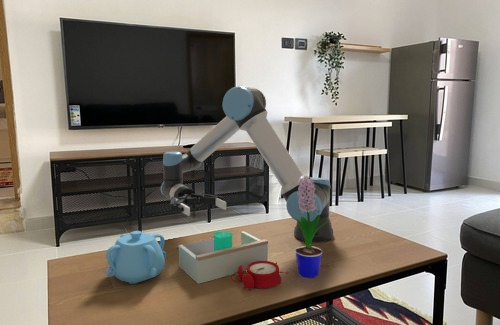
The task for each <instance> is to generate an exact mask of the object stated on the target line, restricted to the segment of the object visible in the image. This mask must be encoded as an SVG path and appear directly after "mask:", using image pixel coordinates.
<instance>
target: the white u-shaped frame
mask: <svg viewBox="0 0 500 325" xmlns="http://www.w3.org/2000/svg"><path fill="white" fill-rule="evenodd" d="M240 233H241V234H240V235H241V236H240V242H241V244H239V245H236V246H232V247H230V248H226V249H222V250H218V251H213V252H209V253H205V254H201V255H197V256H196V255H195V254H193V253H192V252H191V251H190V250H188V249H187V248H186V247H184V246H183V245H184V244H179V245H178V246H179V250H178V266H179V268H180V269H181V270H183V272H185V274H187V275H188V277H190V278H192V280H193V281H194V282H196V283H197V285H199V284H202V283H206V282H210V281H213V280H216V279H221V278H224V277H228V276H231V275H233V274H235V273H236V272H238V268H239V266H240V265H243V272H245V271H246V272H247V266H248V265H249V264H250V263H252V262H256V261H268V252H269V250H268V247H269V246H268V244H269V240H267V239H265V238H263V239H260V238H258V237H256V236H254V235H252V234H250V233H248V232H247V231H241V232H240ZM235 275H236V274H235Z"/></svg>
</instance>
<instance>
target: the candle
mask: <svg viewBox="0 0 500 325" xmlns="http://www.w3.org/2000/svg"><path fill="white" fill-rule="evenodd" d="M213 240H214V251H218V250H222V249H226V248H230V247H233V232H230V231H224V230H222V231H221V230H220V231H219V230H217V231H215V232H214V233H213Z"/></svg>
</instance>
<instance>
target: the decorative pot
mask: <svg viewBox="0 0 500 325" xmlns="http://www.w3.org/2000/svg"><path fill="white" fill-rule="evenodd" d="M129 233H130V234H128V233H123V234H121V235H120V236H119V237H118V238H117V239H116V241H115V243H114V245H111V246H110V247H109V248H108V249H107V250H106V252H105V259H106V261H107V263H108V265H109V267H107V268H106V270H105V274H106V276H107V277H110V278H111V277H115V278H117V279H118V280H119V281H121V282H126V283H128V284H129V285H136V284H139V283H140V282H143V281H147V280H149V279H152V278H155V277H157V276H158V275H160V274H161V273H162V271H163V270H164V268H165V264H166V263H165V262H166V261H165V258H166V257H167V252H166V251H164V247H165V237H164V236H163V235H162V234H160V233H154V234H149V233H146V232H142V231H141V230H133V231H131V232H129ZM157 238H159V239H160V240H159V242H158V240H157Z"/></svg>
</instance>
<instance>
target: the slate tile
mask: <svg viewBox="0 0 500 325" xmlns="http://www.w3.org/2000/svg"><path fill="white" fill-rule="evenodd" d="M182 245H183V246H184V247H186V248H187V249H188V250H190V251H191V252H192V253H193V254H195V255H196V256H197V255H201V254H205V253H209V252H213V251H214V238H208V239H205V240H200V241H194V242H190V243H185V244H182ZM176 249H177V250H178V251H179V245H176Z"/></svg>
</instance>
